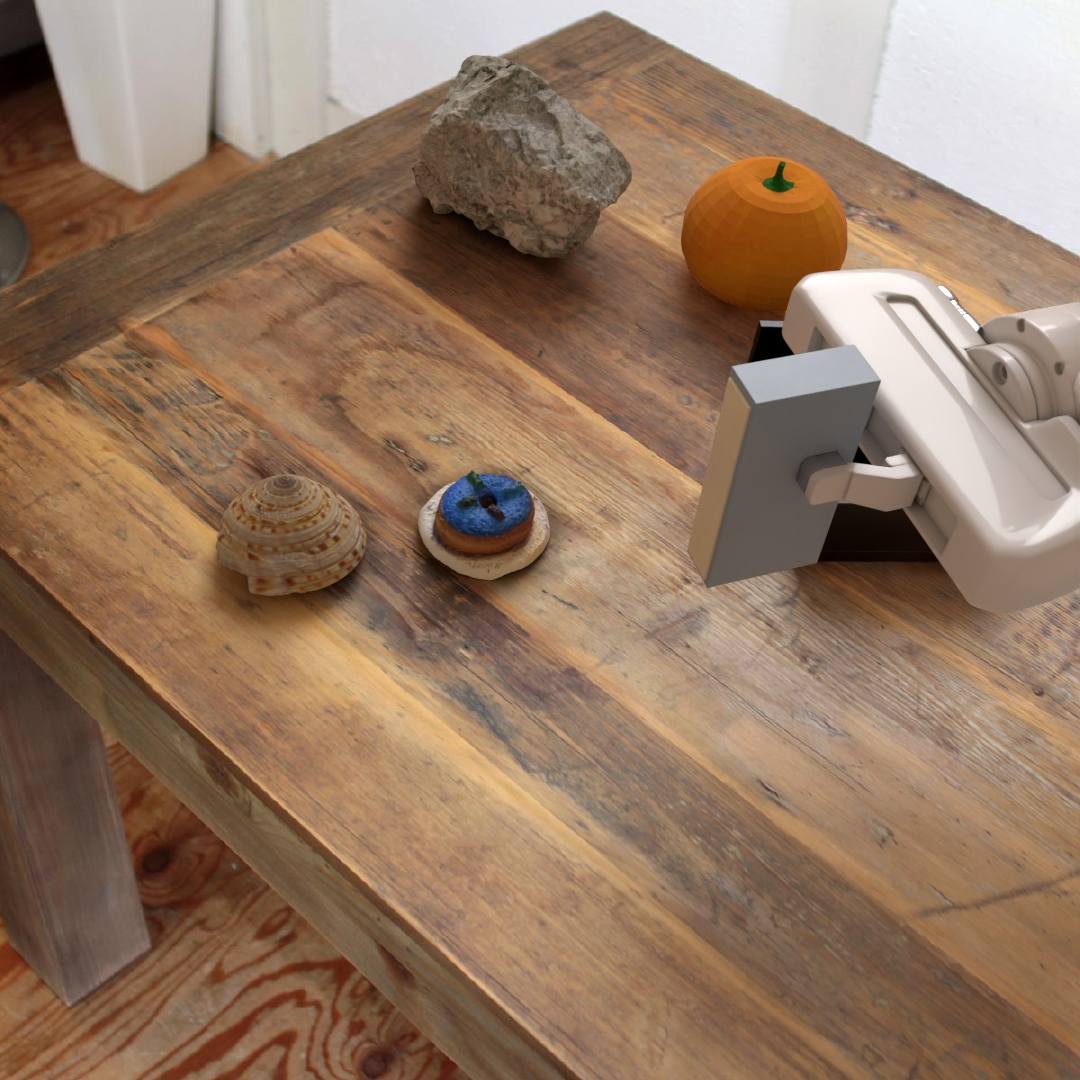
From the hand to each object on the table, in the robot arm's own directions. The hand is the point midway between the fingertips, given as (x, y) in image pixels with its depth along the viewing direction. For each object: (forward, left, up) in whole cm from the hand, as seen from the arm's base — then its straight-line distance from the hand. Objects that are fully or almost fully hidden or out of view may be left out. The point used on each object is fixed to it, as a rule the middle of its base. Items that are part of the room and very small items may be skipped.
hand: (785, 452), depth 61 cm
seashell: (+1, +25, -17) cm, 30 cm away
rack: (+19, -6, -17) cm, 26 cm away
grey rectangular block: (0, 0, -7) cm, 7 cm away
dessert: (+6, +15, -17) cm, 23 cm away
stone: (+37, +21, -17) cm, 46 cm away
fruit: (+36, +3, -17) cm, 40 cm away
